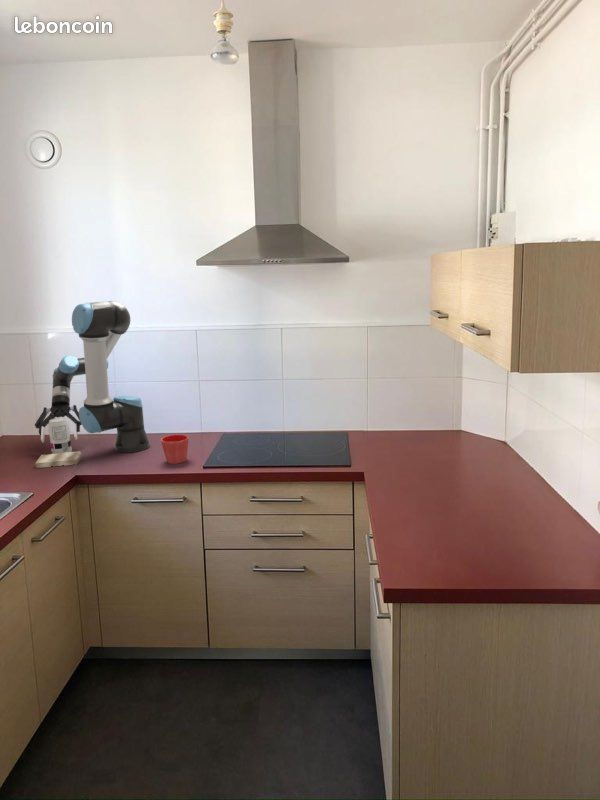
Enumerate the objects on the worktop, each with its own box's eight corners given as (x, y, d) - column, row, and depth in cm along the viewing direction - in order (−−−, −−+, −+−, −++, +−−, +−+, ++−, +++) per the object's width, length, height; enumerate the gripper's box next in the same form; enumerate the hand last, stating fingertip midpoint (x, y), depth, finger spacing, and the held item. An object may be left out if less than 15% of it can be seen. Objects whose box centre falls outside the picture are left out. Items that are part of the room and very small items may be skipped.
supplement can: (47, 455, 268) (43, 421, 265) (61, 449, 275) (57, 417, 272) (62, 456, 265) (58, 422, 261) (76, 451, 272) (72, 418, 269)
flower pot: (182, 465, 246) (180, 442, 244) (158, 464, 249) (156, 441, 247) (194, 457, 255) (192, 434, 253) (171, 456, 259) (169, 433, 257)
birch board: (81, 455, 265) (80, 451, 264) (77, 464, 253) (76, 459, 253) (41, 459, 262) (41, 454, 261) (35, 468, 250) (35, 463, 250)
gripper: (91, 400, 283) (90, 441, 272) (33, 405, 278) (30, 446, 267) (88, 391, 277) (87, 432, 266) (29, 396, 272) (26, 437, 261)
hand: (59, 439), depth 266 cm, fingers open, 13 cm apart
